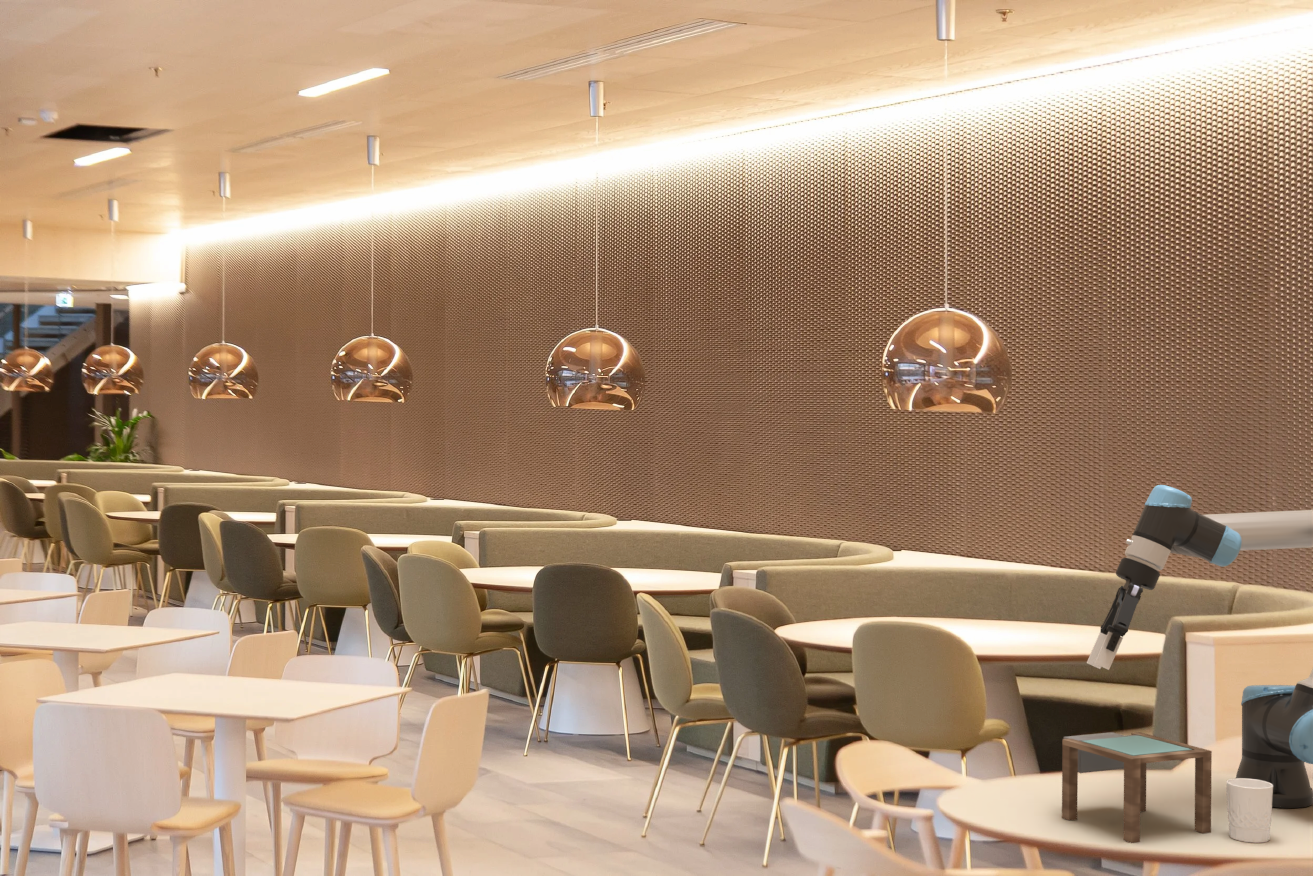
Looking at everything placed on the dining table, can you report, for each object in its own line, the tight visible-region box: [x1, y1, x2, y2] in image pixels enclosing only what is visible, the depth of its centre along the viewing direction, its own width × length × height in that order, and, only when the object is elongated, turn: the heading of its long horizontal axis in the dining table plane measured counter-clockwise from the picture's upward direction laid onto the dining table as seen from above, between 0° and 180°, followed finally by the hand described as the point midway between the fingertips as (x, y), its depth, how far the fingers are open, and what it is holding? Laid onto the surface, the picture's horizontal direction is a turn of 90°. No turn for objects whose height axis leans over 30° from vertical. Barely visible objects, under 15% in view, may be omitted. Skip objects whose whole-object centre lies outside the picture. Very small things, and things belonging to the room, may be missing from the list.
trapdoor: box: [1063, 731, 1192, 774], centre depth 278 cm, size 14×20×7 cm
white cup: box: [1225, 777, 1273, 844], centre depth 267 cm, size 8×8×10 cm
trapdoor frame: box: [1061, 731, 1213, 844], centre depth 275 cm, size 19×19×15 cm
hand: (1097, 666), depth 278 cm, fingers open, 13 cm apart
